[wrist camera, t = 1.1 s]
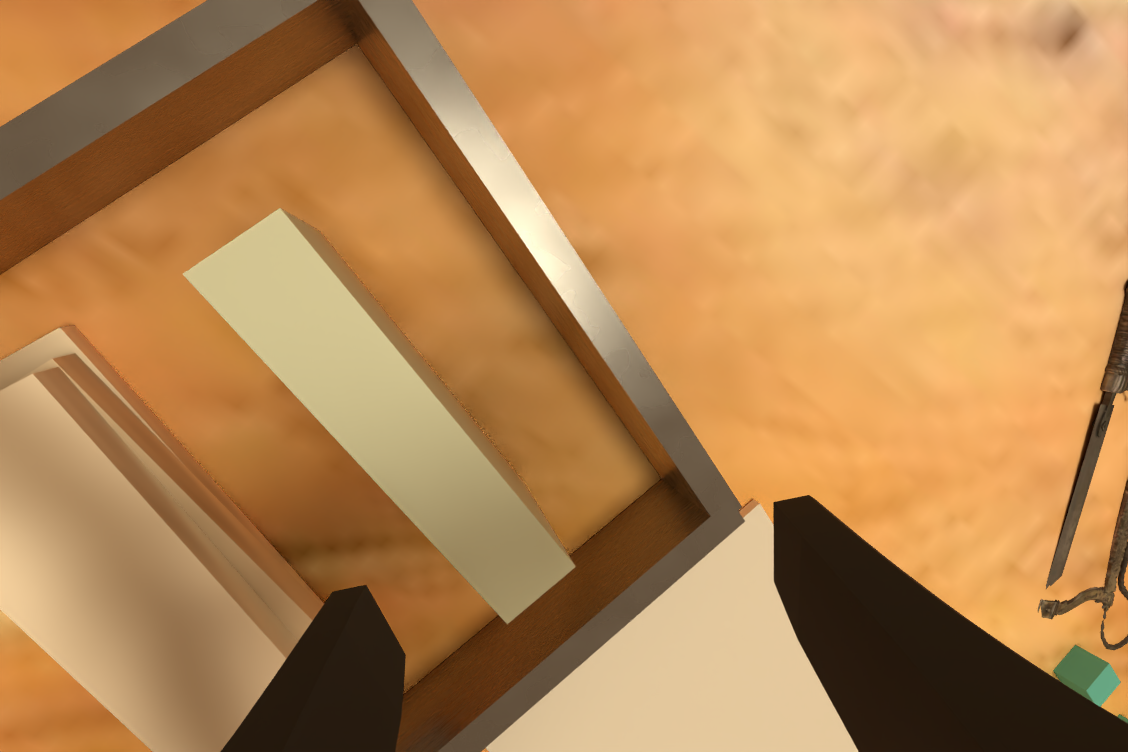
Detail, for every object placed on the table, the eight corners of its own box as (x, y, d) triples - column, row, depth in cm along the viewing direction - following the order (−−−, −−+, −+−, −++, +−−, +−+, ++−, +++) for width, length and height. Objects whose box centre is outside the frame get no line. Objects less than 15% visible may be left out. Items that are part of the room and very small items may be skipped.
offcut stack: (261, 740, 22) (237, 827, 18) (-82, 415, 17) (-203, 451, 13) (385, 651, 22) (384, 718, 19) (91, 318, 18) (19, 327, 14)
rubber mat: (701, 944, 30) (705, 955, 30) (480, 735, 24) (481, 745, 23) (907, 740, 32) (915, 747, 32) (753, 499, 26) (759, 503, 25)
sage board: (474, 520, 22) (507, 624, 16) (258, 274, 19) (182, 274, 12) (523, 481, 23) (576, 566, 16) (320, 231, 19) (280, 207, 12)
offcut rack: (360, 764, 23) (353, 862, 19) (-171, 325, 16) (-350, 341, 12) (695, 480, 25) (749, 518, 21) (362, -13, 18) (353, -89, 14)
